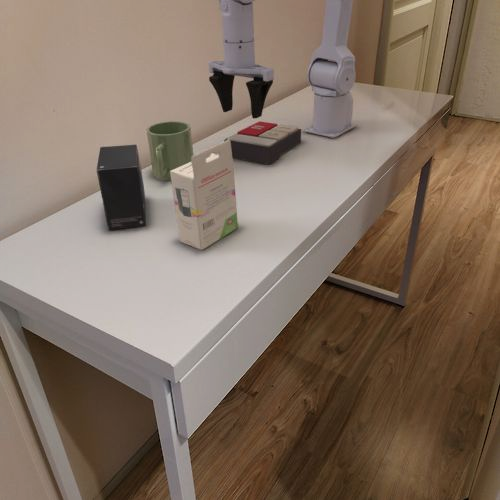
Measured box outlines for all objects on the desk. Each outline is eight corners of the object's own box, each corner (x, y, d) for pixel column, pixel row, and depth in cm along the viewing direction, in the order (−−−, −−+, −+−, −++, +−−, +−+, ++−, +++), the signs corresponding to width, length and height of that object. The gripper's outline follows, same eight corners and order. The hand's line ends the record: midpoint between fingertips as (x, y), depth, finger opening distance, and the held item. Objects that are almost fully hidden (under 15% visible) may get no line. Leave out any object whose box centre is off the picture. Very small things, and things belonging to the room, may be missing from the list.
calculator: (302, 125, 110) (270, 144, 98) (301, 144, 112) (269, 164, 101) (258, 119, 115) (223, 136, 103) (258, 137, 117) (223, 156, 105)
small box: (148, 226, 81) (138, 165, 75) (107, 231, 80) (94, 170, 74) (146, 198, 90) (137, 142, 84) (109, 203, 89) (98, 146, 83)
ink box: (215, 219, 82) (208, 132, 74) (239, 228, 79) (233, 138, 72) (177, 241, 77) (165, 149, 69) (200, 252, 74) (190, 156, 66)
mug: (160, 163, 104) (154, 120, 99) (199, 164, 102) (195, 121, 98) (141, 186, 94) (134, 140, 90) (183, 188, 93) (178, 141, 88)
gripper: (195, 40, 93) (201, 113, 101) (255, 47, 85) (258, 125, 93) (220, 35, 98) (224, 104, 105) (280, 40, 90) (280, 115, 97)
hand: (242, 113), depth 99 cm, fingers open, 7 cm apart
